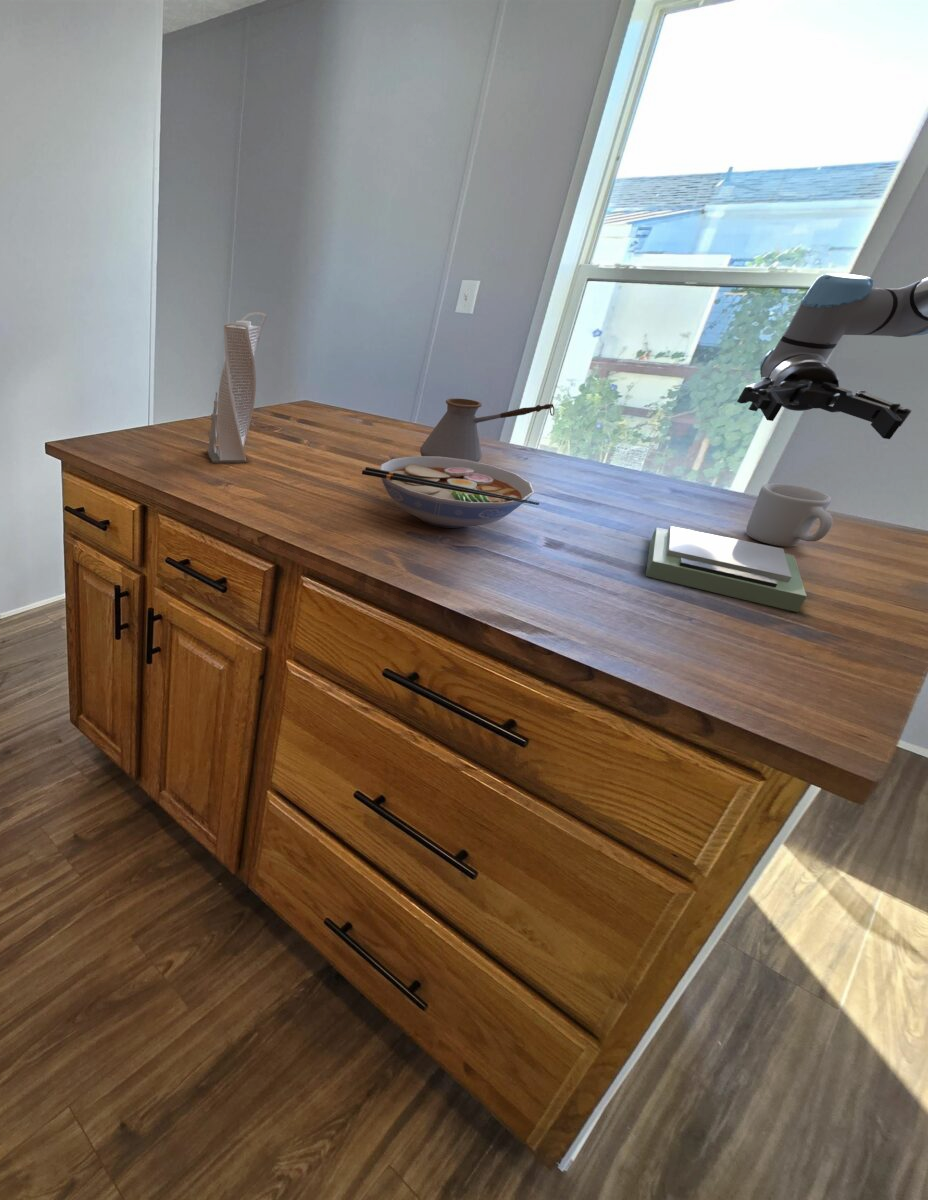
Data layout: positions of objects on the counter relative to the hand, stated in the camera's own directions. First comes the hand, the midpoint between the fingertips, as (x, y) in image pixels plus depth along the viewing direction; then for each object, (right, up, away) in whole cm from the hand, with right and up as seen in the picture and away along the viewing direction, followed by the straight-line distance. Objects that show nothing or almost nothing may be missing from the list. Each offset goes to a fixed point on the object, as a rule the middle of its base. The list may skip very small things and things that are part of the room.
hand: (832, 420), depth 98 cm
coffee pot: (-37, -2, +32) cm, 49 cm away
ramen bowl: (-54, -14, +10) cm, 56 cm away
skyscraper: (-85, +2, +38) cm, 93 cm away
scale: (-23, -23, -6) cm, 33 cm away
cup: (-5, -18, +4) cm, 19 cm away
